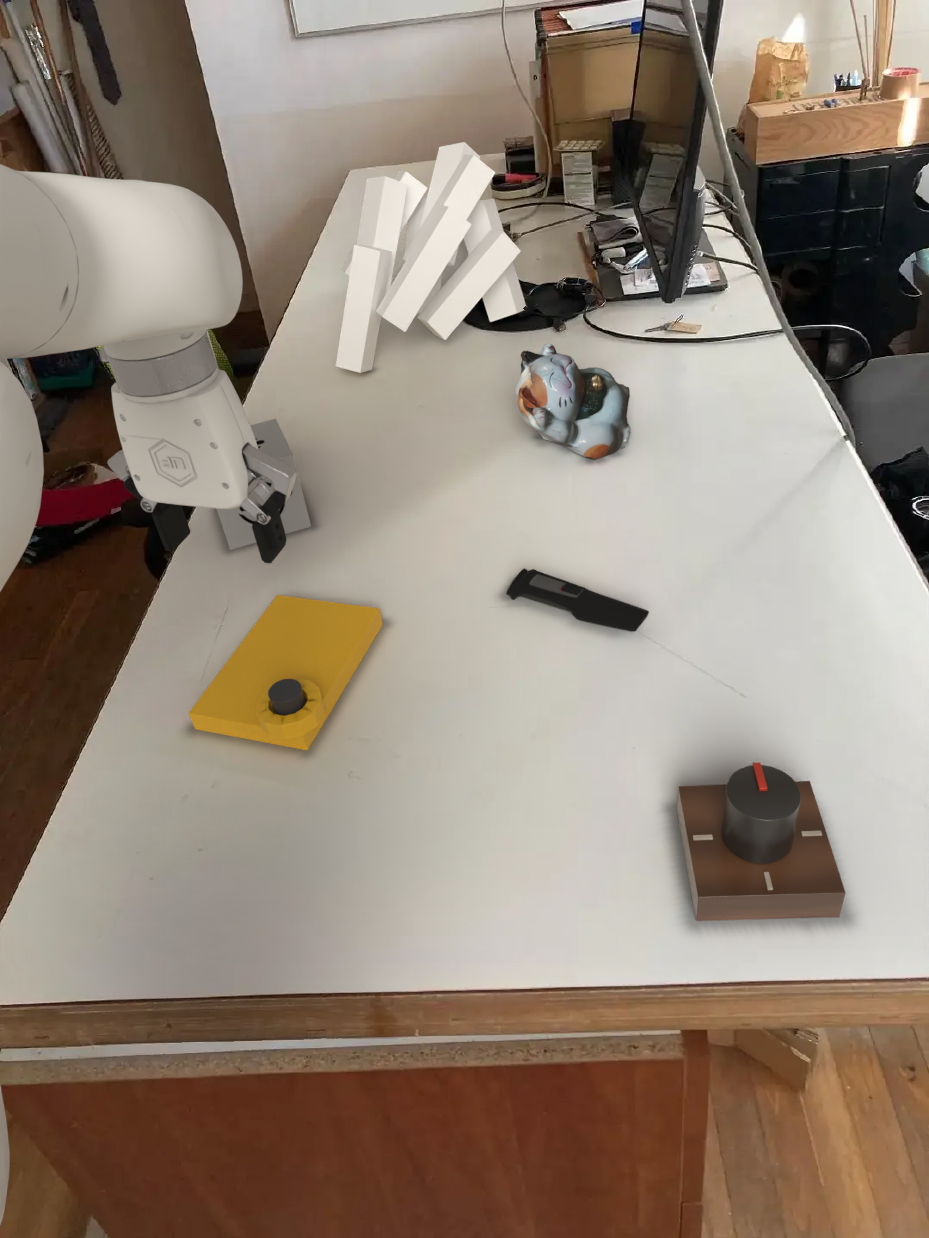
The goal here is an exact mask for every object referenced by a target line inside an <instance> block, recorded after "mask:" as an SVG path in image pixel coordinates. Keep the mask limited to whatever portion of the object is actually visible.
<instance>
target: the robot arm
mask: <svg viewBox="0 0 929 1238" xmlns="http://www.w3.org/2000/svg"><path fill="white" fill-rule="evenodd" d="M241 263H242V262H241V260H240V254H239V251H238V248H237V246H236V243H235V240H234V238H233V236H232V233H231V232H230V229H229V228H228V226H227V224H226V223H225V221H224V220H223V218H222V217H221V215H220V214H219V213H218V212H217V210H216V209H215V208H214V207H213V206H212V205H211V204H210V203H209V202H208V201H207V200H206V199H205V198H203V197H201V196H200V195H199V194H197V193H196V192H194V191H192V190H191V189H189V188H185V187H184V186H180V185H174V184H172V183H165V182H157V181H147V180H143V179H142V180H141V179H118V178H117V179H116V178H104V177H103V178H102V177H95V176H87V175H86V176H84V175H79V174H68V173H59V172H47V171H46V172H45V171H25V170H24V171H23V170H16V169H14V168H11V167H9V166H6V165H4V164H1V163H0V360H6V359H7V360H8V359H26V358H33V357H40V356H47V355H53V354H62V353H68V352H69V353H70V352H74V351H75V352H76V351H82V350H88V349H92V348H97V347H100V349H99V357H100V360H101V361H102V363H105V364H109V366H110V368H111V369H110V370H111V371H112V374H113V377H114V380H115V382H114V383H113V384H112V385H111V387H110V392H111V402H112V403H111V404H112V409H113V416H114V420H115V425H116V431H117V433H118V437H119V441H120V444H121V445H120V446H121V448H122V449H121V450H119V451H117V452H116V453H114V454H113V455H111V457H110V458H109V459H108V460H107V465H108V467H109V468H110V469H111V470H112V472H113V473H114V474H115V476H117V478H118V479H119V480H120V481H123V487H124V488H125V490H126V491H127V492H129V493H130V494H131V495H132V496H134V498H137V500H139V501H140V507H141V508H142V510H143V511H145V512H146V513H151V517H152V519H153V522H154V524H155V527H156V530H157V533H158V535H159V538H160V540H161V543H162V545H163V548H164V551H166V552H174V551H176V550H177V549H178V548H179V546H180V545H181V544H182V543H183V542H184V541H185V540H186V539H187V538H188V537H189V535H190V534H191V528H190V525H189V523H188V520H187V517H186V514H185V511H184V509H183V506H185V507H186V506H187V507H195V508H196V507H197V508H206V509H216V510H217V509H234V508H237V507H239V506H241V507H242V508H243V509H244V510H245V511H247V512H248V513H249V514H250V515H251V516H252V517H253V518H254V519H255V520H256V521H255V522H254V523H253V524H252V530H253V533H254V536H255V539H256V543H255V544H256V545H257V549H258V552H259V555H260V559H261V561H262V562H263V563H265V564H272V563H273V562H274V561H275V559H276V558H277V557H278V555H279V554H280V553H281V552H282V551H283V549H284V548H285V547H286V545H287V534H285V531H284V527H283V524H282V520H281V516H280V513H279V509H280V508H281V507H282V506H283V504H284V503H285V502H286V501H287V500H288V498H289V497H290V496H291V495H292V489H293V486H294V483H295V479H296V476H297V473H298V471H297V472H296V470H295V469H294V468H293V467H291V466H289V465H287V464H285V463H284V462H282V461H280V460H278V459H276V458H274V457H272V456H270V455H268V454H266V453H264V452H262V451H261V450H259V449H258V446H257V443H256V440H255V436H254V434H253V431H252V428H251V426H250V425H251V423H250V421H249V418H248V416H247V413H246V411H245V408H244V406H243V404H242V401H241V399H240V397H239V395H238V393H237V390H236V389H235V387H234V385H233V383H232V381H231V379H230V377H229V375H228V374H227V372H226V370H223V369H220V368H219V366H218V361H217V359H216V355H215V352H214V348H213V344H212V341H211V337H210V335H209V331H208V330H212V329H218V328H221V327H224V326H227V325H228V324H230V323H231V322H232V321H233V320H234V318H235V317H236V315H237V313H238V311H239V308H240V304H241V301H242V296H243V269H242V264H241ZM37 418H38V417H37V416H36V412H35V409H34V405H33V402H32V401H31V399H30V397H29V395H28V393H27V392H26V390H25V388H24V387H23V385H22V383H21V381H20V380H19V379H18V377H17V376H15V374H14V373H13V372H12V371H11V370H10V369H9V368H8V367H7V366H6V364H4V363H3V362H2V361H0V593H1V592H2V590H3V588H4V587H5V585H6V583H7V582H8V580H9V579H10V577H11V575H12V574H13V572H14V570H15V569H16V567H17V566H18V564H19V562H20V560H21V558H22V556H23V555H24V553H25V551H26V549H27V547H28V545H29V543H30V540H31V537H32V535H33V533H34V530H35V527H36V524H37V521H38V518H39V514H40V509H41V505H42V496H43V495H42V494H43V484H44V476H45V475H44V473H45V467H44V449H43V443H42V438H41V433H40V428H39V424H38V419H37ZM264 477H266V478H268V479H270V480H271V481H272V482H273V484H274V487H273V489H272V488H271V487H270V486H269V485H268V484H267V483H265V482H264V481H263V479H264ZM252 491H254V492H255V493H256V494H257V495H258V496H259V497H260V498H261V499H262V500H263V501H264V502H265V503H264V504H263V506H262V505H261V504H260V503H259V502H257V501H256V500H255V499H254V498H253V497H252V496H251V495H250V493H251V492H252ZM8 1132H9V1131H8V1123H7V1116H6V1110H5V1103H4V1098H3V1092H2V1085H1V1084H0V1226H1V1225H2V1222H3V1218H4V1214H5V1210H6V1205H7V1204H6V1203H7V1194H8V1189H9V1188H8V1187H9V1181H10V1180H9V1179H10V1168H11V1165H10V1163H11V1160H10V1159H11V1155H10V1143H9V1133H8Z"/></svg>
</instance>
